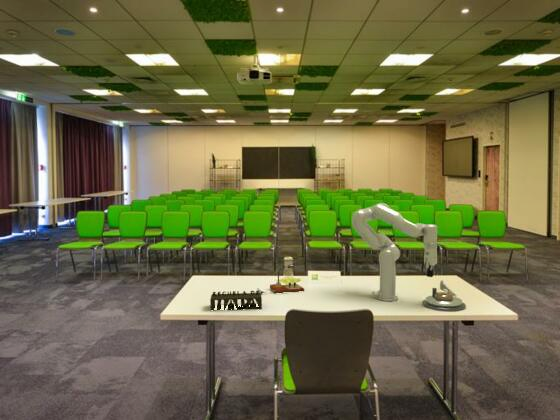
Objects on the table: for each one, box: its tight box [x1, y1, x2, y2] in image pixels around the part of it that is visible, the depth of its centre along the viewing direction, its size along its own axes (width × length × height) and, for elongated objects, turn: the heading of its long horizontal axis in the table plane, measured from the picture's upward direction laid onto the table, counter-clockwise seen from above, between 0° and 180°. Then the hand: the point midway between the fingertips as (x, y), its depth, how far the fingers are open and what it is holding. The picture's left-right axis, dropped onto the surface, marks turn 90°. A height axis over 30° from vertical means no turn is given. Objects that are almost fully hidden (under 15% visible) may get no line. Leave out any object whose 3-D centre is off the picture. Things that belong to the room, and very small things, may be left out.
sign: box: [210, 290, 263, 311], centre depth 280 cm, size 29×11×10 cm, turn 95°
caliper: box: [439, 279, 457, 297], centre depth 312 cm, size 20×1×6 cm, turn 8°
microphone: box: [256, 264, 305, 295], centre depth 318 cm, size 14×30×18 cm, turn 109°
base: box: [421, 291, 466, 312], centre depth 281 cm, size 24×24×6 cm
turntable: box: [425, 287, 463, 308], centre depth 281 cm, size 20×20×7 cm
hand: (429, 276), depth 283 cm, fingers closed
